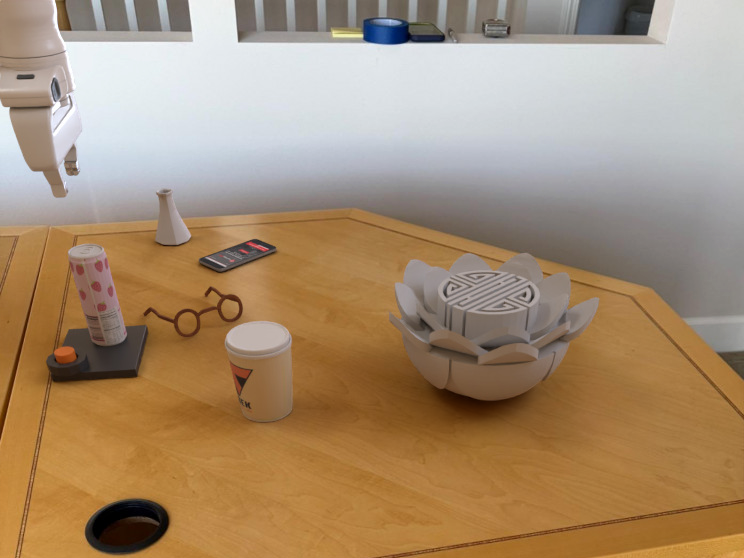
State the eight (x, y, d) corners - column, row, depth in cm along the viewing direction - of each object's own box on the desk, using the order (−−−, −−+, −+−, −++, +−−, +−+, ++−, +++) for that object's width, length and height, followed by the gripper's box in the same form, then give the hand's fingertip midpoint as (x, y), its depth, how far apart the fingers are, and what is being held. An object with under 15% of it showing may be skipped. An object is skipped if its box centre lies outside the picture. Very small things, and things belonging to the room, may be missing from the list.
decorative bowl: (469, 316, 139) (475, 232, 128) (609, 378, 123) (628, 288, 113) (343, 377, 123) (338, 286, 113) (484, 457, 107) (494, 360, 97)
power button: (55, 365, 120) (52, 356, 119) (58, 355, 122) (56, 346, 121) (74, 364, 120) (72, 355, 119) (78, 354, 123) (75, 345, 121)
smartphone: (277, 247, 159) (219, 269, 151) (278, 250, 160) (220, 273, 151) (255, 238, 163) (196, 259, 154) (255, 241, 163) (197, 262, 155)
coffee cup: (229, 399, 118) (216, 326, 110) (287, 386, 121) (280, 315, 112) (244, 431, 111) (233, 357, 103) (306, 417, 114) (299, 343, 106)
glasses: (179, 343, 131) (174, 315, 127) (143, 316, 138) (137, 289, 135) (245, 319, 137) (242, 292, 134) (207, 295, 144) (203, 269, 141)
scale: (48, 385, 121) (42, 368, 119) (68, 336, 132) (63, 320, 130) (136, 380, 122) (132, 363, 120) (148, 332, 134) (144, 316, 132)
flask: (149, 243, 163) (138, 194, 156) (169, 231, 168) (159, 183, 161) (178, 248, 161) (168, 198, 154) (197, 236, 166) (189, 187, 159)
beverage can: (126, 328, 132) (103, 241, 121) (128, 344, 128) (105, 254, 117) (91, 333, 130) (65, 245, 120) (92, 349, 126) (66, 259, 116)
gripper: (31, 60, 110) (59, 163, 120) (-7, 96, 95) (29, 210, 105) (77, 59, 111) (101, 161, 120) (46, 94, 96) (77, 208, 105)
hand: (68, 184), depth 112 cm, fingers open, 8 cm apart
